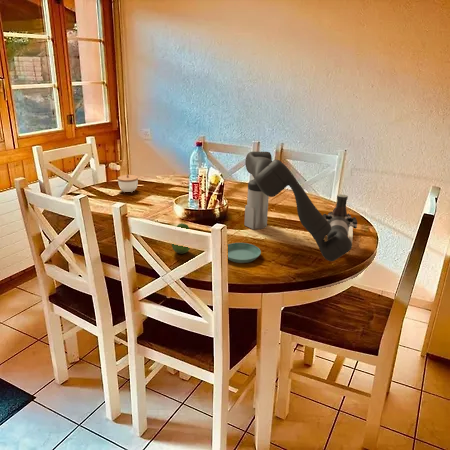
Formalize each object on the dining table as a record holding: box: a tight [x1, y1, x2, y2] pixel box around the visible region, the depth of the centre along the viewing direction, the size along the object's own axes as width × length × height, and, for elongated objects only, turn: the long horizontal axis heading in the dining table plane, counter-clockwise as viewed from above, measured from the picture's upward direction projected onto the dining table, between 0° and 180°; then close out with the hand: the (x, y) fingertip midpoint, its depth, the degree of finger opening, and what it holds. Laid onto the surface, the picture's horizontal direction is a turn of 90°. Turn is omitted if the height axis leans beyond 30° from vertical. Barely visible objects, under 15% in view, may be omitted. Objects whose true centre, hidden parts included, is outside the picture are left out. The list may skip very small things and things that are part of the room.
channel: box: [324, 222, 354, 243], centre depth 177 cm, size 18×12×5 cm
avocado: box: [171, 222, 191, 255], centre depth 157 cm, size 8×8×12 cm
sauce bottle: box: [331, 193, 349, 218], centre depth 169 cm, size 6×6×20 cm
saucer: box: [227, 242, 262, 264], centre depth 157 cm, size 15×15×3 cm
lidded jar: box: [117, 174, 139, 193], centre depth 229 cm, size 11×11×9 cm
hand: (339, 214), depth 170 cm, fingers closed on sauce bottle, 6 cm apart
